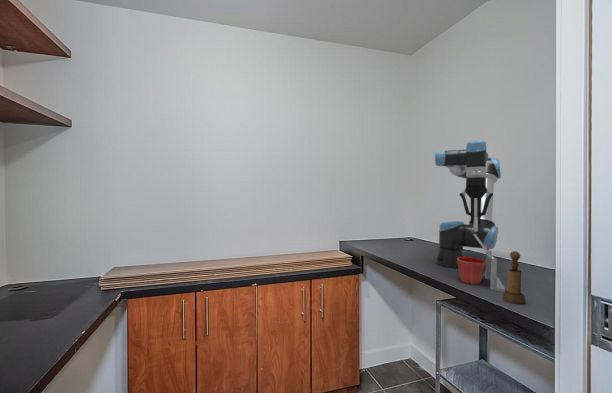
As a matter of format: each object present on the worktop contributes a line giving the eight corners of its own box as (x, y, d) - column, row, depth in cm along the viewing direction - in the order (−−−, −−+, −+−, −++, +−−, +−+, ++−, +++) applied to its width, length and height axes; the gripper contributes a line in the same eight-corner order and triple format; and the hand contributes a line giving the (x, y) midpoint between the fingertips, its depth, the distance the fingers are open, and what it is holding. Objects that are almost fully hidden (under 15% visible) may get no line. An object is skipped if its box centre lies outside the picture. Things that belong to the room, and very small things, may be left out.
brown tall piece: (505, 302, 106) (506, 252, 105) (500, 296, 112) (501, 249, 111) (527, 305, 103) (529, 254, 103) (521, 298, 109) (522, 250, 109)
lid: (468, 229, 136) (472, 227, 135) (488, 256, 132) (492, 254, 132) (471, 232, 124) (475, 230, 123) (492, 262, 121) (497, 260, 120)
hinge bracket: (485, 277, 136) (485, 250, 136) (497, 279, 134) (498, 251, 133) (490, 290, 119) (491, 259, 118) (505, 292, 116) (506, 260, 116)
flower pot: (489, 286, 124) (489, 263, 123) (460, 284, 126) (461, 261, 126) (479, 278, 134) (480, 257, 134) (453, 277, 136) (454, 256, 136)
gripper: (459, 177, 128) (459, 231, 128) (494, 176, 122) (494, 233, 123) (458, 177, 135) (458, 229, 135) (491, 177, 129) (491, 230, 130)
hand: (475, 231), depth 129 cm, fingers closed
